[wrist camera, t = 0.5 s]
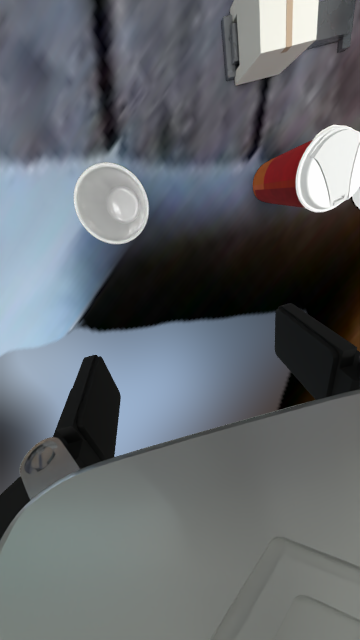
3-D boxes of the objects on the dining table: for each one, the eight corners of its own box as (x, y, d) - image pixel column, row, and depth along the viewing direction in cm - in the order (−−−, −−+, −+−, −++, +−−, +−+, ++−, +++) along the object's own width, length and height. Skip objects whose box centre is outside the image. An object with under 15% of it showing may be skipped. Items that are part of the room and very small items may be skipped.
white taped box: (229, 8, 25) (258, -55, 19) (279, -4, 25) (323, -71, 19) (235, 86, 28) (261, 53, 22) (279, 75, 28) (316, 39, 22)
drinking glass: (128, 168, 31) (118, 141, 18) (155, 213, 34) (163, 219, 21) (90, 196, 31) (54, 191, 18) (120, 237, 35) (107, 258, 22)
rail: (221, 21, 25) (225, 11, 24) (351, -11, 26) (363, -23, 24) (226, 80, 28) (230, 74, 26) (344, 50, 28) (355, 42, 27)
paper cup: (294, 197, 36) (373, 194, 24) (251, 217, 36) (307, 224, 24) (288, 141, 32) (378, 103, 20) (240, 164, 32) (299, 141, 20)
